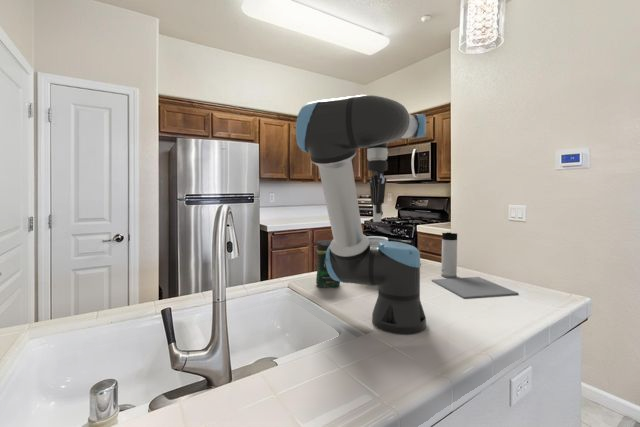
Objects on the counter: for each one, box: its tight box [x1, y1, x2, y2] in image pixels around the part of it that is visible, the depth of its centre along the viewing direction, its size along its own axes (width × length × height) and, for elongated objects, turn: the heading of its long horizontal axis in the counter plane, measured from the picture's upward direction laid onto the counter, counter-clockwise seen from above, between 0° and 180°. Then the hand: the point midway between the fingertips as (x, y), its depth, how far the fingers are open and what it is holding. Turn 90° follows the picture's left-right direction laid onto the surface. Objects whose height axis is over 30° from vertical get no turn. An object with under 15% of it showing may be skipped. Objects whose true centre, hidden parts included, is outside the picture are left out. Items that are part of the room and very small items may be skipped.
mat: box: [431, 276, 519, 299], centre depth 124 cm, size 22×22×1 cm
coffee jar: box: [315, 239, 341, 288], centre depth 128 cm, size 10×8×19 cm
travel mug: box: [440, 231, 458, 279], centre depth 139 cm, size 6×7×20 cm
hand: (377, 221), depth 122 cm, fingers closed
